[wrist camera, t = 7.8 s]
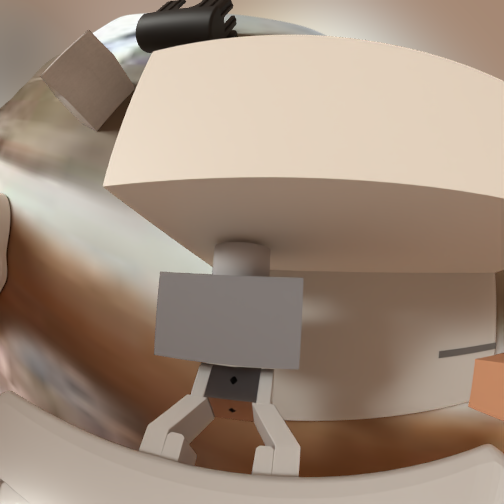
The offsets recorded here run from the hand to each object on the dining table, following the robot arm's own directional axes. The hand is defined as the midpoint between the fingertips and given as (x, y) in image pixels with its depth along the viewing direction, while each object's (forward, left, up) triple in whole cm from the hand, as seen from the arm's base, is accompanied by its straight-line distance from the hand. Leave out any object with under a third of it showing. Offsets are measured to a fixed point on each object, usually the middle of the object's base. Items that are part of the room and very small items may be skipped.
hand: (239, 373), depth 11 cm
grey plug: (+3, +2, -3) cm, 4 cm away
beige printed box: (+11, +28, -8) cm, 32 cm away
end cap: (+23, +24, -8) cm, 35 cm away
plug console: (+7, -5, -8) cm, 12 cm away
